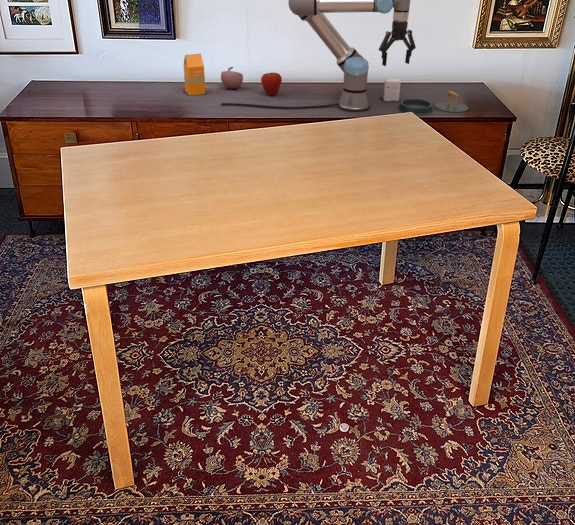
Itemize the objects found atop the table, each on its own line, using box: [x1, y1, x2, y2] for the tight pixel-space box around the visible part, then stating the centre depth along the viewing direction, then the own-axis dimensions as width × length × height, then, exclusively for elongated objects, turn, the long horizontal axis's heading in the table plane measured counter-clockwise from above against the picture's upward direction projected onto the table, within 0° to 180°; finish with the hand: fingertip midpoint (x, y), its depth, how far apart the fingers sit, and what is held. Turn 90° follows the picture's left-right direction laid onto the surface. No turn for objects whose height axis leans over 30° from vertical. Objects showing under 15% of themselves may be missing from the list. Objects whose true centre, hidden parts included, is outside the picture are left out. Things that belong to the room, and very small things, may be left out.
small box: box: [382, 78, 401, 102], centre depth 331 cm, size 8×6×10 cm
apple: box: [260, 72, 283, 97], centre depth 334 cm, size 11×11×12 cm
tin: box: [399, 98, 433, 114], centre depth 320 cm, size 16×16×3 cm
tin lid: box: [434, 90, 469, 114], centre depth 320 cm, size 17×17×8 cm
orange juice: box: [183, 53, 206, 96], centre depth 333 cm, size 8×9×20 cm
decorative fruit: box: [220, 66, 244, 90], centre depth 343 cm, size 12×12×12 cm
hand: (395, 64), depth 323 cm, fingers open, 13 cm apart
